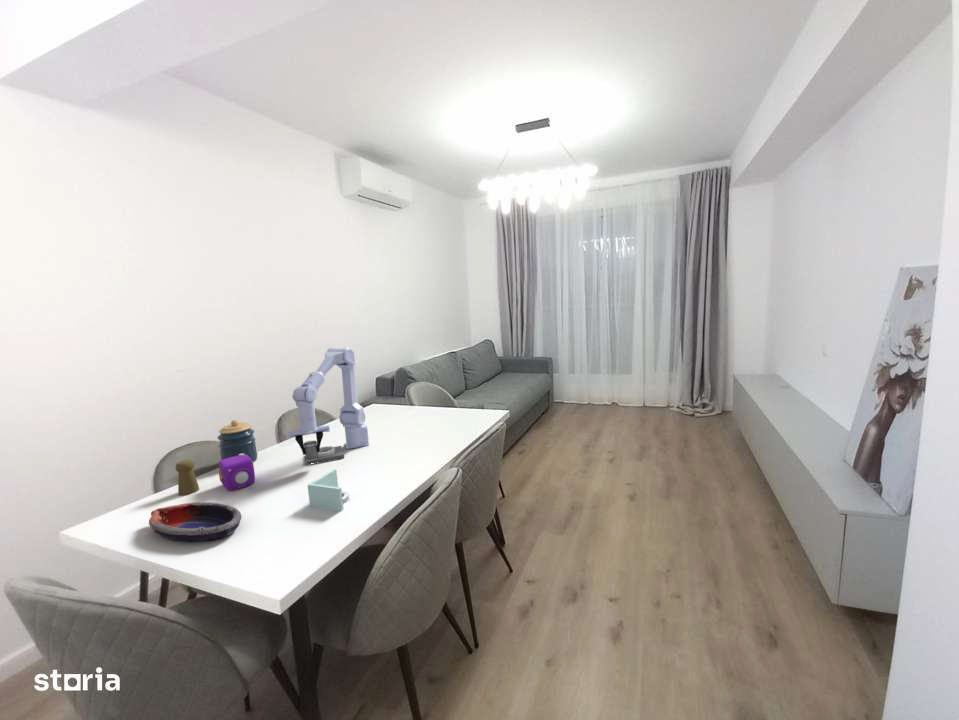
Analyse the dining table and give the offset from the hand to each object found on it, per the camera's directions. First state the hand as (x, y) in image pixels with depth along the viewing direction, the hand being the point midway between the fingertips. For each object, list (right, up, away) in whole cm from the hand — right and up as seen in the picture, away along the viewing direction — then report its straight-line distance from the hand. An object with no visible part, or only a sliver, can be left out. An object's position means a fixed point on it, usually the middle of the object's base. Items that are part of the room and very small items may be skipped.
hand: (311, 452), depth 156 cm
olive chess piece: (-37, -11, -13) cm, 41 cm away
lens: (0, -2, 0) cm, 2 cm away
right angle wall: (+19, -10, -24) cm, 32 cm away
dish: (-17, -13, -38) cm, 44 cm away
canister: (-34, -7, +13) cm, 37 cm away
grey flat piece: (0, -5, +14) cm, 15 cm away
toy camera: (-21, -10, -10) cm, 25 cm away
